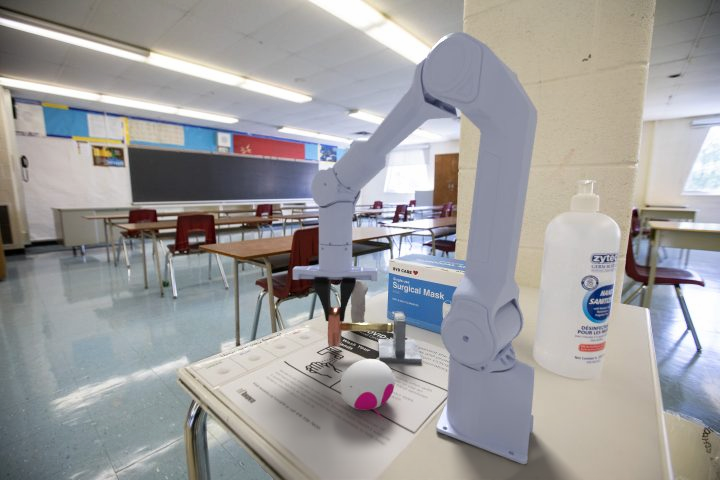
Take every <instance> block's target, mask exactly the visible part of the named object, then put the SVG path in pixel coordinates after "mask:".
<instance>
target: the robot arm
mask: <svg viewBox="0 0 720 480" xmlns="http://www.w3.org/2000/svg"><path fill="white" fill-rule="evenodd" d="M415 66H416V67H415V68H414V69H415V70H414V75H413V78H412V82H411V83H410V86H409V88H408V89H407V90H406V91H405V93H403V95H402V96H401V97H400V99H399V100H398V101H397V102H396V103H395V105H394V106H393V107H392V109H391V110H390V111H389V113H388V114H387V115H386V116H385V118H384V119H383V120H382V122H381V123H380V124H379V125H378V127H376V128H375V130H374V131H373V133H372V134H371V135H370V137H367V138H365V137H360V138H357V139H356V140H355V139H354V140H353V141H352V142H351V143H350V144H349V148H348V149H347V150H346V152H344V154H343V155H342V156H341V157H340V158H339V159H338V160H337V161H336V162H335V163H334V164H333V166H332V167H328V168H327V169H319V170H317V171H316V173H315V175H314V176H313V179H312V180H311V187H310V188H311V189H310V192H311V196H312V199H313V201H314V203H315V204H316V205H318V265H307V266H306V265H305V266H304V265H301V266H294V267H293V268H292V280H294V281H295V280H296V281H298V280H313V286H312V287H313V290H314V291H315V293H316V295H317V296H318V298H319V300H320V304H321V305H322V310H323V313H324V319H325V322H328V319H329V311H330V307H332V304H331V303H332V301H331V289H332V288H331V286H332V280H336V281H338V280H339V281H340V280H341V281H340V284H339V288H340V289H339V290H340V291H339V293H340V306H339V307H340V322H342V323H344V322H345V317H346V309H347V306H348V303H349V301H350V299H351V296H352V294H353V290H354V288H355V284H356V281H371V282H378V274H379V273H378V268H377V267H365V266H356V265H355V266H353V220H354V219H353V217H354V215H355V213H356V206H357V203H358V201H359V199H360V197H361V193H362V191H361V190H362V189H363V188H365V186H367V185H368V183H370V181H372V180H373V179H374V178H375V177H376V176H377V175H378V174H379V173H381V172H382V171H383V169H384V168H385V167H386V162H387V161H386V159H387V157H386V156H387V155H388V154H389V153H391V151H393V150H394V149H395V148H396V147H398V146H399V145H400V144H401V143H402V142H403V141H404V140H406V139H407V138H408V137H409V136H411V135H412V134H413V133H414V132H415V131H416V130H418V128H420V127H421V126H422V125H424V124H425V123H426V122H427V121H428V120H429V121H430V120H436V119H437V120H439V119H440V120H441V119H449V118H450V119H451V118H452V119H453V118H457V117H458V112H457V110H459V111H460V112H461V114H462V115H463V116H464V117H466V119H468V120H469V121H470V122H471V123H472V124H473V125H474V127H476V128H477V129H478V130H479V132H480V137H479V147H478V155H477V162H476V171H475V178H474V179H475V181H474V186H473V187H474V188H473V196H472V203H471V204H472V205H471V206H472V207H471V213H470V214H471V215H470V222H469V223H470V224H469V230H468V232H469V233H468V237H467V238H468V239H467V246H466V247H467V250H466V258H465V264H464V266H465V267H464V274H463V276H462V278H461V280H460V281H459V283H458V285H457V286H456V288H455V290H454V292H453V294H452V297H451V305H450V307H449V310H448V311H447V313H446V315H445V316H444V317H443V319H442V322H441V325H440V336H441V341H442V344H443V345H444V347H445V349H446V351H447V352H448V353H449V355H448V356H449V357H448V359H449V361H448V374H447V375H448V376H447V377H448V379H447V393H446V403H445V405H444V407H443V410H442V412H441V413H440V416H439V419H438V420H437V423H436V426H435V429H436V431H437V432H438V433H441V434H444V435H446V436H449V437H451V438H454V439H457V440H459V441H462V442H464V443H467V444H469V445H472V446H475V447H477V448H479V449H482V450H486V451H487V452H490V453H493V454H495V455H497V456H501V457H502V458H503V457H504V458H506V459H508V460H511V461H512V462H513V461H514V462H517V463H519V464H523V465H525V464H526V465H527V463H528V453H529V441H530V433H531V434H533V431H534V419H535V418H534V415H533V414H532V412H533V411H532V409H533V399H534V387H535V386H534V385H535V366H533V365H531V364H528V363H525V362H522V361H521V360H518V359H517V356H516V354H515V353H516V352H515V349H514V345H513V341H514V339H515V338H517V337H518V336H519V335H520V334H521V332H522V331H523V328H524V324H525V323H524V315H523V312H522V310H521V306H520V302H519V297H520V287H519V285H518V283H517V281H516V280H515V277H516V276H515V275H516V274H515V273H516V269H517V262H518V260H517V259H518V255H519V247H520V240H521V232H522V228H523V221H524V220H523V219H524V212H525V205H526V200H527V194H528V193H527V191H528V186H529V185H528V184H529V179H530V174H531V173H530V171H531V165H532V157H533V150H534V145H535V138H536V131H537V123H538V110H537V108H536V106H535V105H534V103H533V102H532V100H531V98H530V96H529V95H528V93H527V91H526V90H525V88H524V86H523V85H522V83H521V82H520V80H519V78H518V75H517V73H516V72H515V71H514V70H513V69H511V68H510V67H509V66H508V65H507V64H506V63H505V62H504V61H503V60H502V59H501V58H500V57H499V56H498V55H497V54H496V53H495V52H494V51H493V50H492V49H491V48H490V47H489V46H488V45H487V44H486V43H484V42H483V41H481V40H479V39H478V38H476V37H474V36H472V35H471V34H469V33H467V32H464V31H457V32H456V31H455V32H452V33H449V34H446V35H444V36H443V37H442V38H440V39H439V40H438V41H437V42H436V43H435V44H434V45H433V47H431V49H430V51H428V54H427V55H426V57H424V58H423V59H422V60H421V61H420V62H419V63H418V64H417V65H415Z"/></svg>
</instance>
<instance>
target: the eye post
mask: <svg viewBox="0 0 720 480" xmlns="http://www.w3.org/2000/svg"><path fill="white" fill-rule="evenodd" d="M406 324H407V320H406V318H405V314H404V311H400V310H398V311H396V310H394V312H393V326H394V330H393V331H392V334H393V335H392V338H378V343H377V345H379V346H378V360H379V361H381V362H383V363H385V364H386V363H387V364H389V363H392V364H393V363H394V364H395V363H396V364H422V362H423V359H422V356H421V351H420V350H419V347H418V344H417V341H416V339H406V330H407V329H406V328H407V325H406Z"/></svg>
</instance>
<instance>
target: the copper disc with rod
mask: <svg viewBox="0 0 720 480" xmlns="http://www.w3.org/2000/svg"><path fill="white" fill-rule="evenodd" d="M340 307H341V306H331V307H330V311H329V319H328V321H327V346H328V347H329V348H330V347H331V348H332V347H333V348H335V347H336V348H337V347H341V341H342V334H343V333H342V332H344V331H346V332H373V333H374V332H380V333H382V332H383V333H393V331H394V323H391V322H388V323H377V322H375V323H373V322H363V323H352V322H340Z"/></svg>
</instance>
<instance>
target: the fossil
mask: <svg viewBox="0 0 720 480" xmlns="http://www.w3.org/2000/svg"><path fill="white" fill-rule="evenodd" d="M368 291H369V287H368V285H367V283H366V282H365V281H363V280H356V284H355V288H354V290H353V292H352V294H351V296H350V303H351V308H350V319H351V323H366V322H365V313H366V295H367V293H368Z"/></svg>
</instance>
